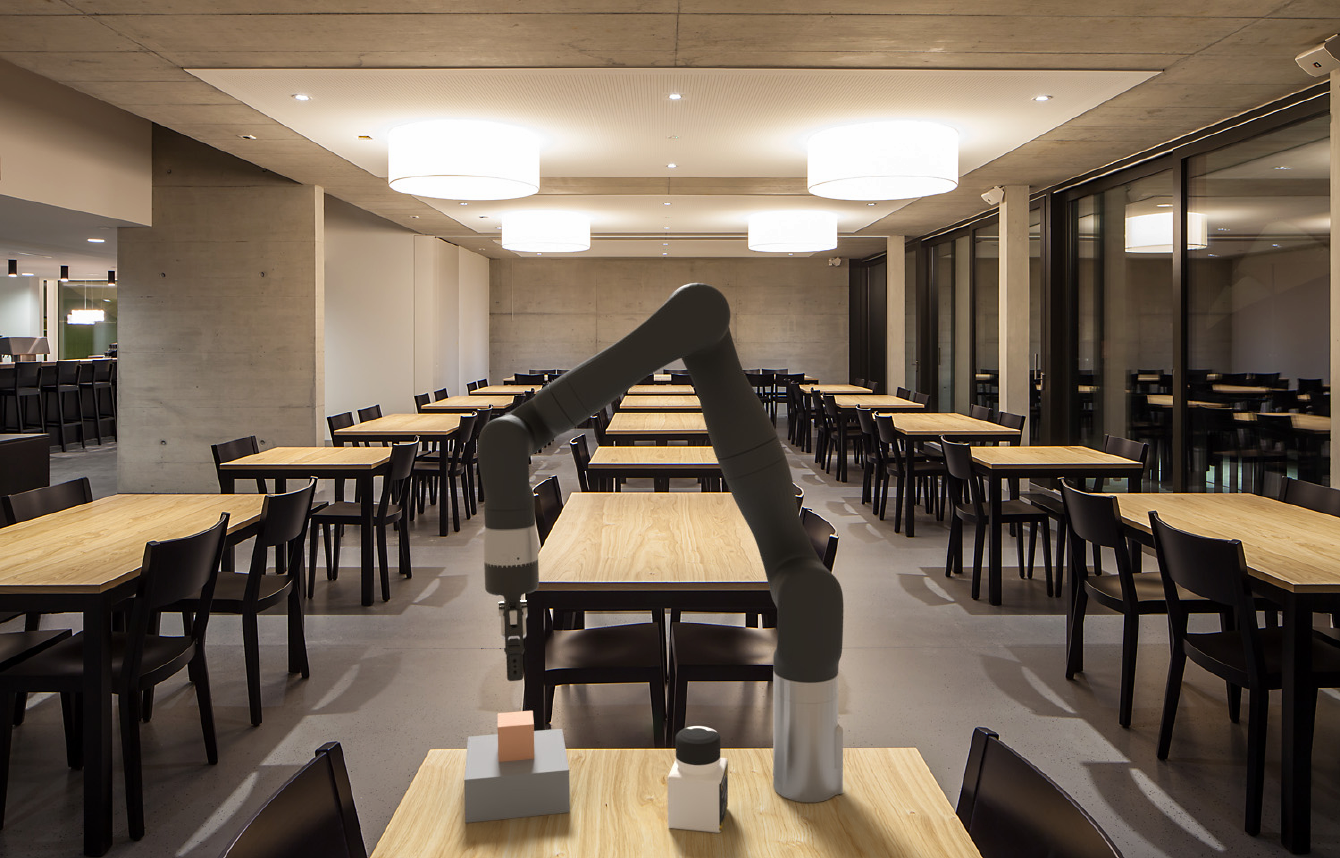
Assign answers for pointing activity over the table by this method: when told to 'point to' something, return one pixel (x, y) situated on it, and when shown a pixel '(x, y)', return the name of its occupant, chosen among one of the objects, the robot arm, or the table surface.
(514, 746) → the terracotta cube
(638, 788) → the table surface
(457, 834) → the table surface
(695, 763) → the medicine bottle
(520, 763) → the slate pedestal
